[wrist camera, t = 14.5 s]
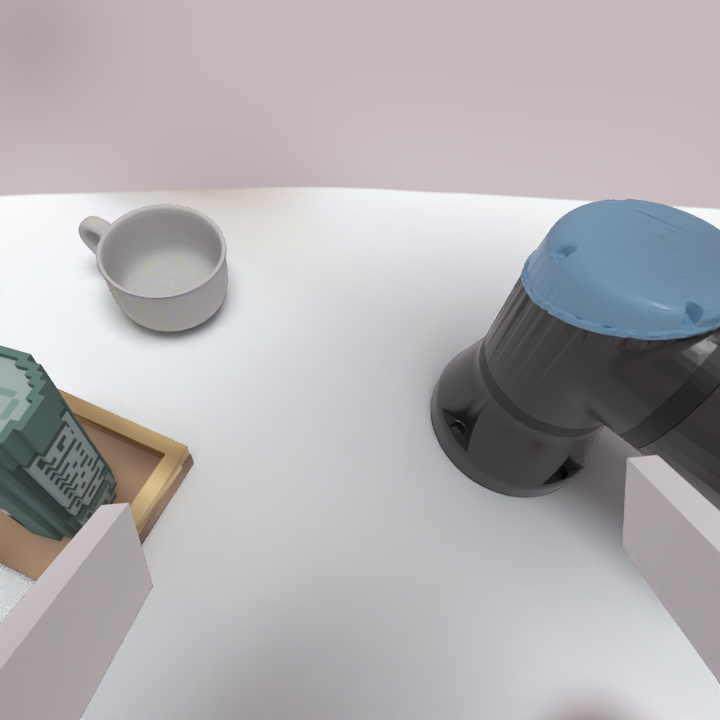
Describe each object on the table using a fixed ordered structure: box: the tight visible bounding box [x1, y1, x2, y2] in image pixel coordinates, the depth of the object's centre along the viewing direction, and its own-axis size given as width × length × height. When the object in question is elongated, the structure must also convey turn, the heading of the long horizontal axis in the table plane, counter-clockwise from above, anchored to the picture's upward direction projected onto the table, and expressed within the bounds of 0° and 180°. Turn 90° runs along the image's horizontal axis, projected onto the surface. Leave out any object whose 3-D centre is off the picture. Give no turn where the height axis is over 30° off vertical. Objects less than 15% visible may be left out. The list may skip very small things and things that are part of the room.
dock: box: [0, 389, 193, 581], centre depth 38 cm, size 12×12×3 cm
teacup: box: [79, 204, 228, 332], centre depth 48 cm, size 14×11×8 cm
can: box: [0, 346, 117, 542], centre depth 32 cm, size 6×6×15 cm
